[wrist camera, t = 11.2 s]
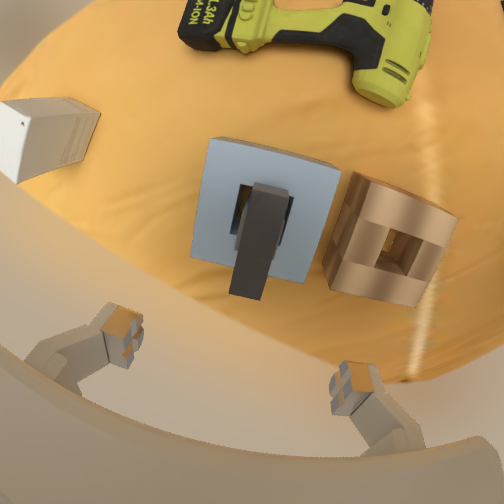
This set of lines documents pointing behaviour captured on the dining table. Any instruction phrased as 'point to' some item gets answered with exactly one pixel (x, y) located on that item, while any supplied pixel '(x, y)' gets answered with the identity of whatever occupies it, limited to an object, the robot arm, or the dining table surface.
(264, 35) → the cordless drill
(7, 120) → the supplement box
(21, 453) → the robot arm
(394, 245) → the stand
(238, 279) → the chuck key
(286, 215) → the block
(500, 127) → the dining table surface
